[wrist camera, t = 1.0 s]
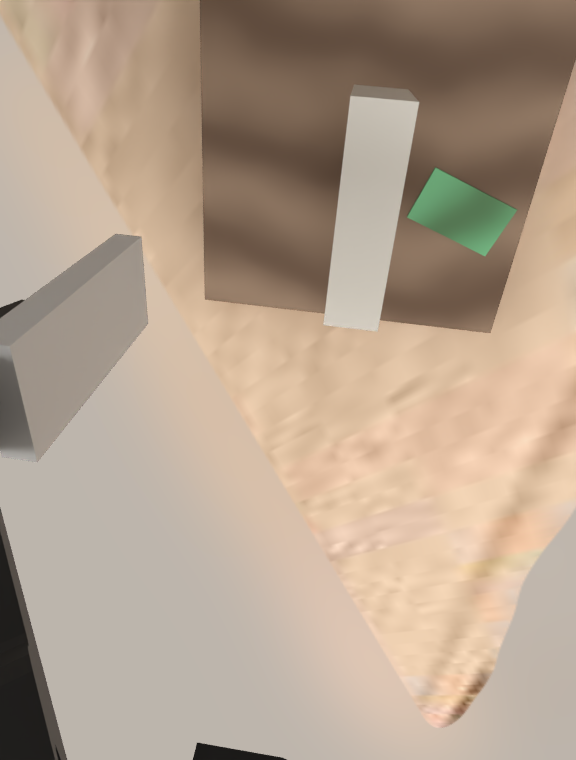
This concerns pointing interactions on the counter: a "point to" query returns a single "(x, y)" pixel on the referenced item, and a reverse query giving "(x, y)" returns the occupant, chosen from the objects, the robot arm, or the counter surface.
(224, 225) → the wooden cutting board
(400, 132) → the white stand
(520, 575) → the counter surface
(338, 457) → the counter surface
